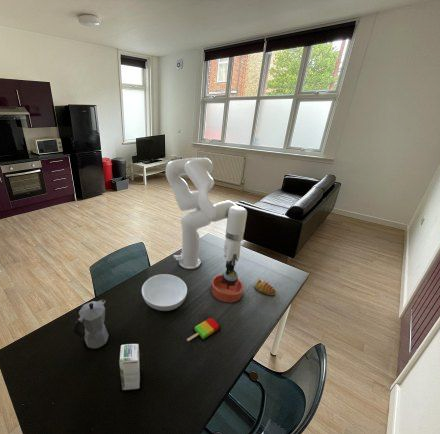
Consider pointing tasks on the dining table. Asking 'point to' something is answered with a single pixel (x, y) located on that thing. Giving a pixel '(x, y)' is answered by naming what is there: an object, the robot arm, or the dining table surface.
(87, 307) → the coffeepot
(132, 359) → the syrup box
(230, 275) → the mate gourd
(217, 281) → the terracotta bowl
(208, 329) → the popsicle
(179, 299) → the serving bowl
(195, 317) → the dining table surface
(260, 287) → the pastry
